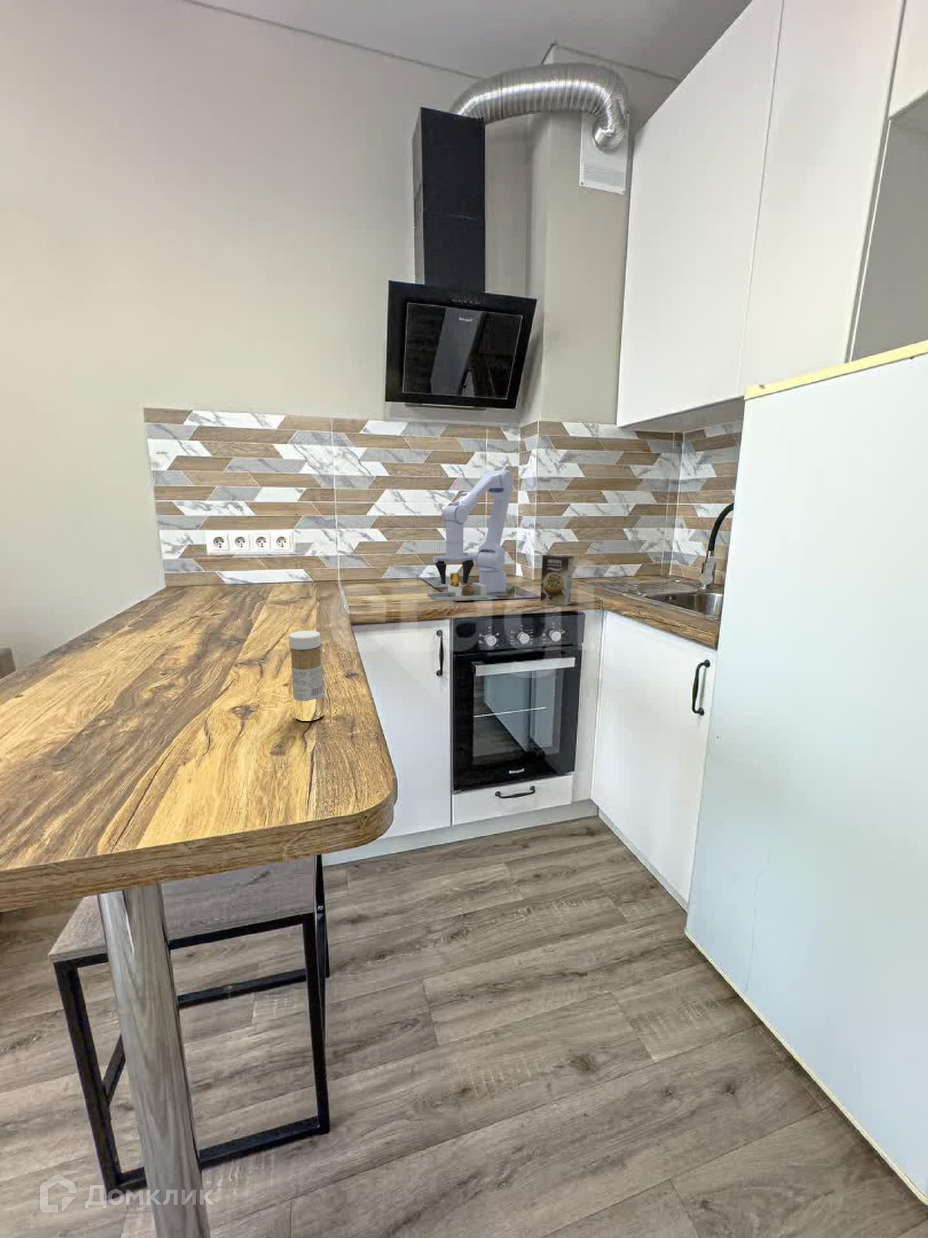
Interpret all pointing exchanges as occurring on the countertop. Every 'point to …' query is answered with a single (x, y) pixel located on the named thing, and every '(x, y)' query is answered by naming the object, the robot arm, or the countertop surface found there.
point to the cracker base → (478, 594)
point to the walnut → (468, 590)
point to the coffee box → (556, 579)
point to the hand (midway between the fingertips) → (454, 583)
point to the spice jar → (306, 665)
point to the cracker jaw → (454, 585)
